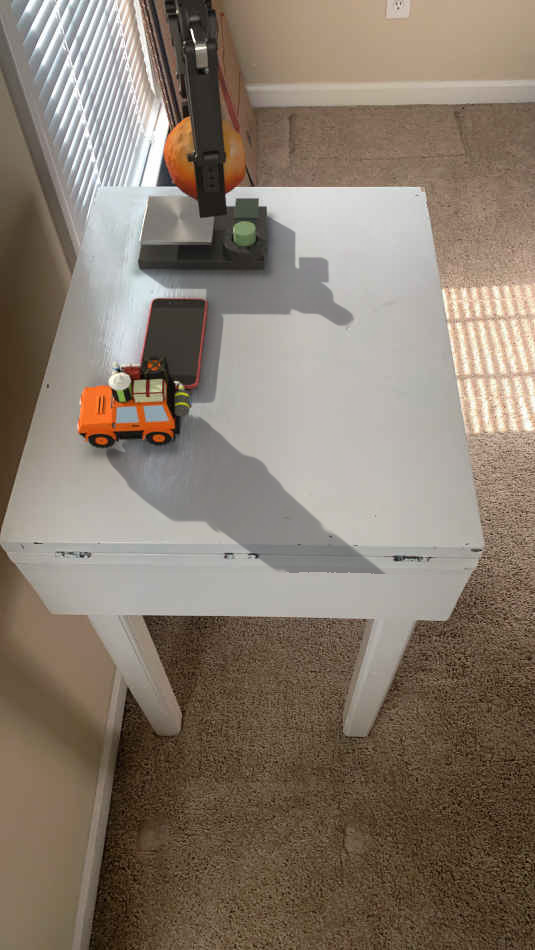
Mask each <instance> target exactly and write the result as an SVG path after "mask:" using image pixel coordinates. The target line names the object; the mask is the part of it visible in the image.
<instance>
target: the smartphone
mask: <svg viewBox="0 0 535 950" xmlns="http://www.w3.org/2000/svg"><path fill="white" fill-rule="evenodd" d="M208 305H209V303H208V301H207V300H206V299H205V298H193V297H192V298H191V297H190V298H189V297H188V298H187V297H159V298H158V297H157V298H154V299H152V301H151V303H150V308H149V312H148V317H147V324H146V329H145V335H144V341H143V346H142V351H141V356H140V362H139V364H141V363H142V361H143V358H144V357H150V356H155V355H158V356H161V357H163V356H164V357H165V359H166V362H167V363H168V369H169V374H170V376H171V378H172V379H173V381H177V382H181V383H182V385H183V386H184V390H192V389H195V388H196V387H197V386H198V385H199V381H200V373H201V365H202V358H203V357H202V356H203V348H204V341H205V340H204V339H205V332H206V324H207V314H208V308H209V307H208ZM175 389H176V390H179V388H178V387H177V386H175Z"/></svg>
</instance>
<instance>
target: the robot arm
mask: <svg viewBox="0 0 535 950" xmlns="http://www.w3.org/2000/svg"><path fill="white" fill-rule="evenodd" d="M163 8H164V15H165V18H166V19H165V20H166V23H167V24H168V32H169V36H170V43H171V46H172V47H173V48H174V58H175V66H176V73H175V77H176V80H177V81H178V83H179V88H178V93H179V96H180V97H181V99H182V100H185V101H180V106H181V114H182V120H183V119H185V118H187V117H189V116H190V122H191V129H192V137H193V144H194V151H193V153H189V154H187V160H188V162H193V163H194V172H195V181H196V190H197V199H198V208H199V215H200V218H206V217H214V216H221V215H227V208H226V206H227V194H225V180H224V166H223V163H225V161H226V152H225V150H224V138H223V127H222V119H223V118H222V105H221V95H220V82H219V72H218V71H219V70H218V68H219V57H218V56H219V55H218V51H219V45H218V42H217V38H216V35H217V32H218V21H217V12H216V9H215V8H213V2H212V0H163Z"/></svg>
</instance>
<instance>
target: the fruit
mask: <svg viewBox="0 0 535 950" xmlns="http://www.w3.org/2000/svg"><path fill="white" fill-rule="evenodd" d="M222 127H223V138H224V150H225V152H226V161H225V163H223V166H224V180H225V194H226V195H227V194H228V193H231V192H232V191H233V190H235V189H236V188H237V186H239V185H240V184H241V182H243V181H244V179H245V176H246V173H247V172H246V170H247V168H246V160H247V155H246V150H245V144H244V140H243V137H242V135H241V134H240V133H239V132H238V131H237V130H235V129H234V128H233V127H232V125H231V124H230V122H229V121H227V120H225V119H223V118H222ZM193 151H194V144H193V137H192V129H191V122H190V116H189V117H187V118H185V119H183V118H182V120H181V121H180V122H179V123H177V124H176V126H175V127H173V129H172V130H171V131H170V132H169V133H168V135H167V138H166V140H165V143H164V147H163V158H164V162H165V165H166V168H167V170H168V173H169V176H170V178H171V180H172V181H171V184H172V185H173V184H174V185H175V187H177V188H178V190H180V191H181V192H182V193H183V194H184V195H185V196H190V197H192V198H194V199H195V200H197V201H198V199H197V190H196V181H195V172H194V163H193V162H188V160H187V154H189V153H193Z"/></svg>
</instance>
